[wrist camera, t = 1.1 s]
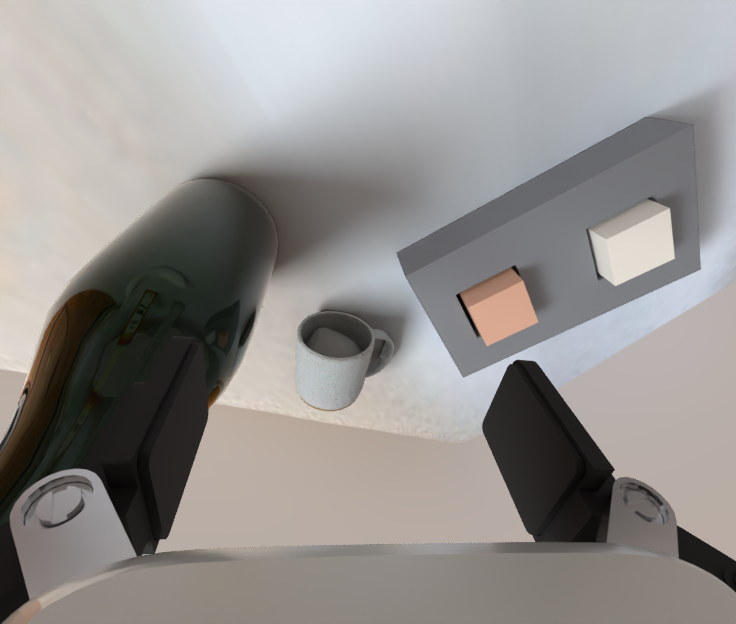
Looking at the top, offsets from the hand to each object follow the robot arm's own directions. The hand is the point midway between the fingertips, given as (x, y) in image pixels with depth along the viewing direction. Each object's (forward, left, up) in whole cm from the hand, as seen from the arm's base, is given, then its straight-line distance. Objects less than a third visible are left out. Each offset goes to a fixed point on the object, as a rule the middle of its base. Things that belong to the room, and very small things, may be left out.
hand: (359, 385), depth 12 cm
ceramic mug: (+8, +15, -26) cm, 31 cm away
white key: (-19, +16, -23) cm, 34 cm away
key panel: (-13, +16, -25) cm, 33 cm away
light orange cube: (-7, +16, -23) cm, 29 cm away
